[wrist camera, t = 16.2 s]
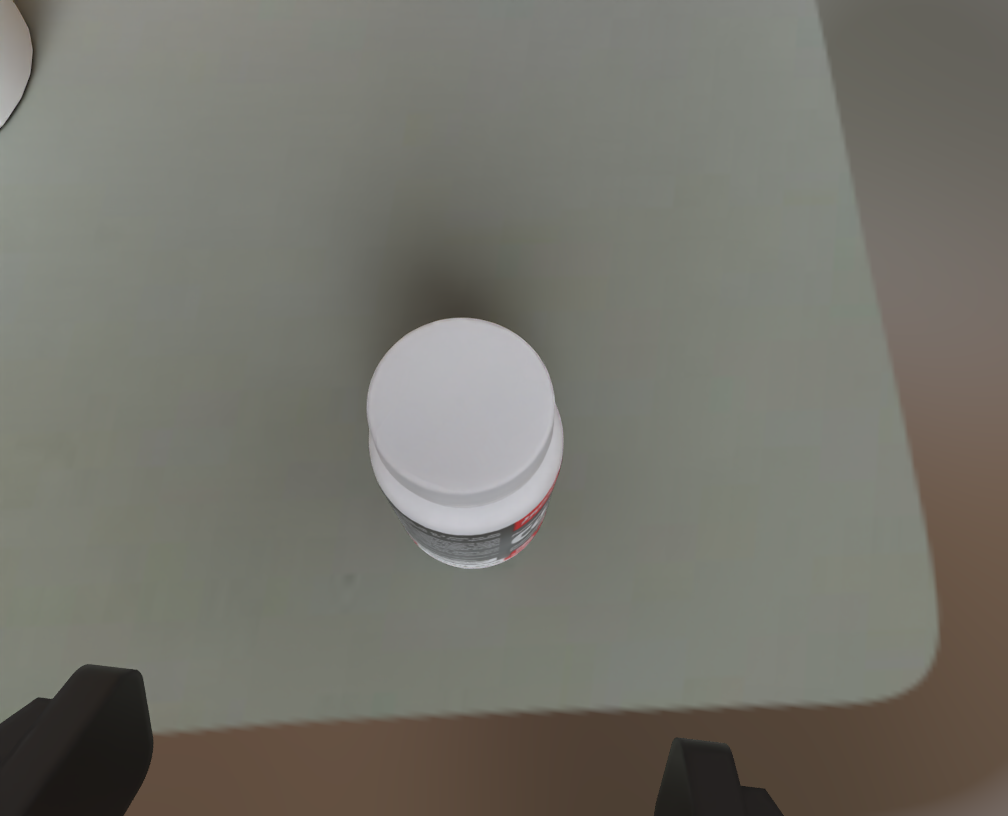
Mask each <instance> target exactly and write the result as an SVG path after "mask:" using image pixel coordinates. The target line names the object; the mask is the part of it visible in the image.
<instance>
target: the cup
mask: <svg viewBox="0 0 1008 816" xmlns="http://www.w3.org/2000/svg"><path fill="white" fill-rule="evenodd" d="M32 54H33V49H32V43H31V38H30V32H29V28H28V26H27V25H26V23H25V21H24V19H23V17H22V15H21V13H20V11H19V9H18V8H17V6H16V5H15V3H14V2H13V0H0V128H1V127H2V126H3V125H4V123H5V122H6V120H7V119H8V117H9V116H10V114H11V113H12V111H13V110H14V108H15V107H16V105H17V104H18V102H19V101H20V99H21V97H22V94H23V92H24V89H25V87H26V84H27V81H28V79H29V76H30V72H31V63H32Z"/></svg>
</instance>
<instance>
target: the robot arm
mask: <svg viewBox="0 0 1008 816" xmlns="http://www.w3.org/2000/svg"><path fill="white" fill-rule="evenodd" d="M152 753H153V735H152V729H151V723H150V717H149V711H148V705H147V699H146V693H145V687H144V681H143V677H142V675H141V673H140V672H139V671H138V670H133V669H125V668H117V667H108V666H100V665H92V664H87V665H84V666H82V667H80V668H79V669H78V670H77V671H75V673H74V674H73V675H72V676H71V677H70V678H69V680H68V681H67V682H66V683H65V685H64V686H63V687H62V688H61V689H60V691H59V692H58V693H57V694H56V696H55V697H54V698H53V699H47V698H39V697H38V698H36V699H35V700H33V701H32V702H31V703H29V704H28V705H26V706H25V707H23V708H22V709H21V710H19V711H18V712H16V713H15V714H13V715H12V716H11V717H9V718H8V719H6V720H5V721H3V722H2V723H1V724H0V816H123V815H124V814H125V812H126V811H127V809H128V807H129V805H130V804H131V802H132V800H133V799H134V797H135V795H136V794H137V792H138V790H139V788H140V787H141V785H142V783H143V781H144V779H145V777H146V774H147V771H148V768H149V765H150V762H151V758H152ZM654 816H784V815H783V814H782V813H781V811H780V810H779V808H778V807H777V805H776V804H775V802H774V801H773V800H772V798H771V797H770V795H769V794H768V792H767V791H766V790H765V789H762V788H754V787H746V786H740V782H739V778H738V774H737V770H736V766H735V763H734V758H733V755H732V752H731V750H730V748H729V746H728V745H727V744H725V743H718V742H710V741H702V740H693V739H685V738H675V739H674V740H673V742H672V746H671V749H670V753H669V756H668V760H667V764H666V768H665V771H664V775H663V779H662V783H661V786H660V790H659V794H658V798H657V801H656V806H655V812H654Z"/></svg>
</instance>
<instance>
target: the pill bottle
mask: <svg viewBox="0 0 1008 816" xmlns="http://www.w3.org/2000/svg"><path fill="white" fill-rule="evenodd" d="M367 420H368V425H369V429H370V430H369V453H370V459H371V464H372V467H373V471H374V474H375V476H376V479H377V482H378V484H379V486H380V488H381V490H382V492H383V493H384V495H385V496H386V498H387V500H388V501H389V503H390V504H391V506H392V508H393V509H394V511H395V513H396V514H397V516H398V517H399V519H400V521H401V522H402V524H403V526H404V527H405V529H406V531H407V532H408V534H409V535H410V537H411V538H412V540H413V541H414V542H415V543H416V544H417V545H418V546H419V547H420V548H421V549H422V550H423V551H424V552H426V553H427V554H428V555H430V556H431V557H433V558H435V559H437V560H439V561H441V562H443V563H446V564H448V565H451V566H455V567H460V568H470V569H475V568H484V567H489V566H493V565H496V564H499V563H502V562H504V561H506V560H508V559H510V558H511V557H513V556H515V555H516V554H518V553H519V552H520V551H521V550H523V549H524V548H525V547H526V546H527V545H528V543H529V542H530V541H531V540H532V539H533V537H534V536H535V534H536V533H537V532H538V530H539V528H540V526H541V524H542V521H543V519H544V516H545V513H546V510H547V507H548V503H549V500H550V497H551V494H552V491H553V488H554V485H555V483H556V479H557V477H558V474H559V471H560V467H561V463H562V457H563V427H562V421H561V417H560V414H559V411H558V408H557V406H556V404H555V397H554V389H553V386H552V382H551V379H550V376H549V373H548V371H547V369H546V367H545V365H544V363H543V362H542V360H541V358H540V357H539V355H538V354H537V353H536V351H535V350H534V349H533V348H532V347H531V346H530V345H529V344H528V343H527V342H526V341H525V340H523V339H522V338H521V337H520V336H518V335H517V334H515V333H514V332H512V331H511V330H509V329H507V328H505V327H503V326H500V325H498V324H495V323H492V322H489V321H485V320H481V319H475V318H450V319H443V320H438V321H435V322H432V323H428V324H426V325H423V326H421V327H419V328H417V329H415V330H413V331H411V332H409V333H408V334H406V335H405V336H404V337H402V338H401V339H400V340H399V341H397V342H396V343H395V344H394V345H393V346H392V347H391V348H390V349H389V351H388V352H387V353H386V354H385V355H384V357H383V358H382V360H381V361H380V363H379V364H378V366H377V368H376V370H375V372H374V374H373V377H372V379H371V382H370V386H369V390H368V396H367Z"/></svg>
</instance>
